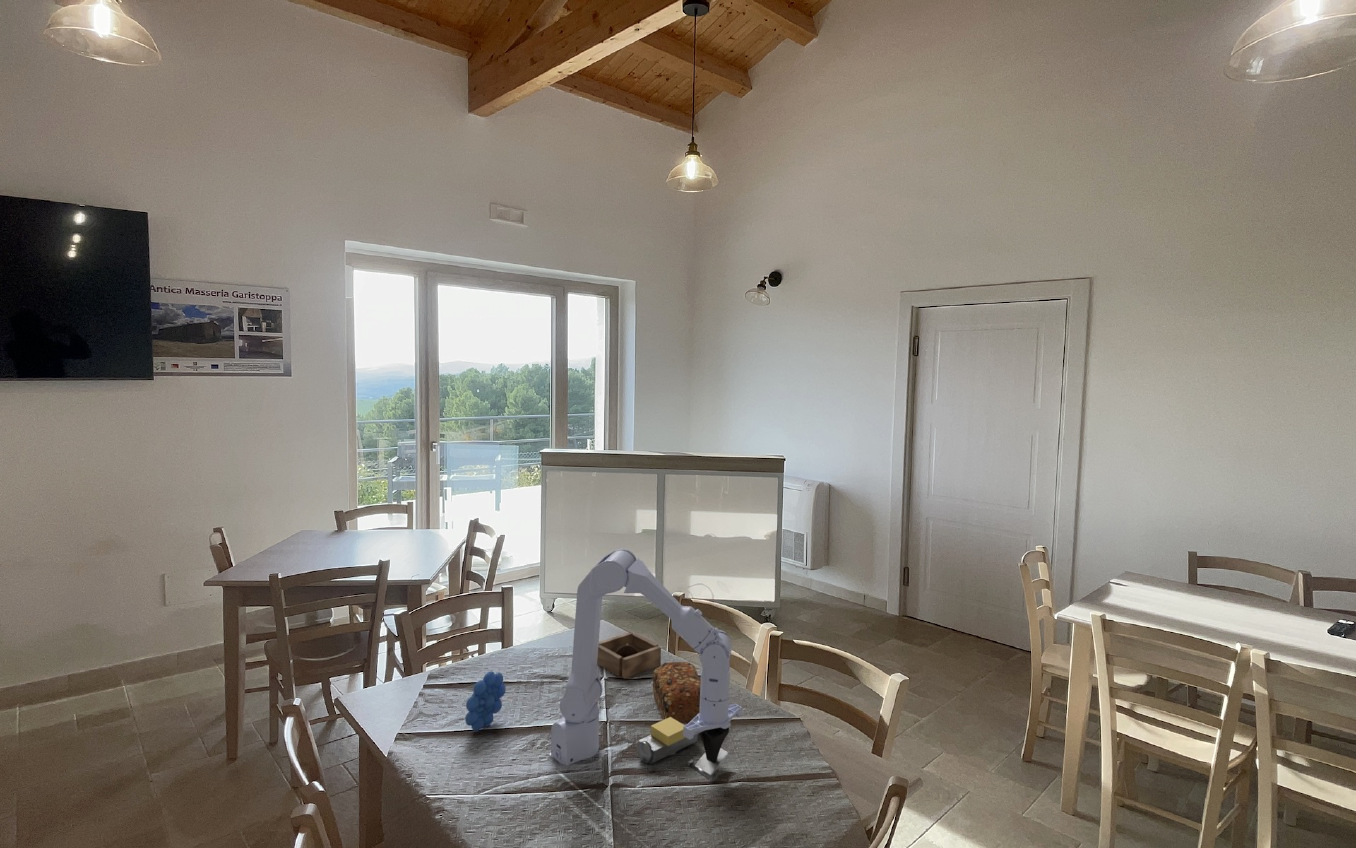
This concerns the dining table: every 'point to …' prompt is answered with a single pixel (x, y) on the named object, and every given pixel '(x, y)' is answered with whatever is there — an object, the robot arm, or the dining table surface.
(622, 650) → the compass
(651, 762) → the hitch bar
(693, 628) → the robot arm
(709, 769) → the plate
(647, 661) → the open wooden box
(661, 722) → the pale yellow block
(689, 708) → the bread
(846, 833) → the dining table surface
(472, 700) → the grapes
